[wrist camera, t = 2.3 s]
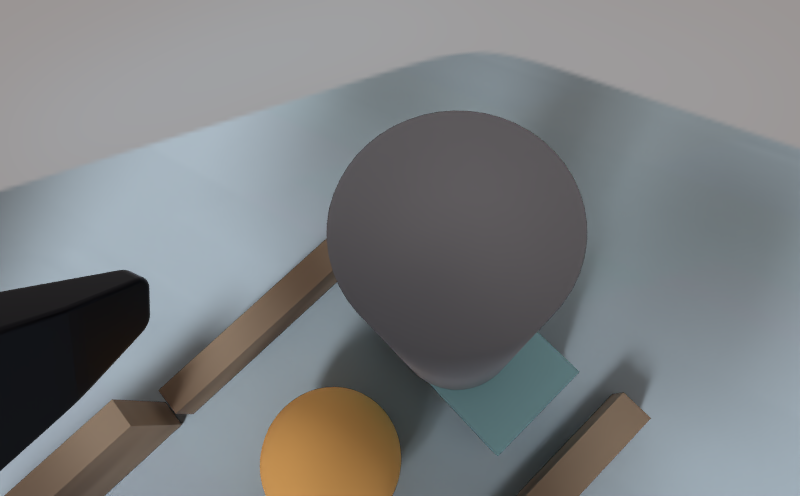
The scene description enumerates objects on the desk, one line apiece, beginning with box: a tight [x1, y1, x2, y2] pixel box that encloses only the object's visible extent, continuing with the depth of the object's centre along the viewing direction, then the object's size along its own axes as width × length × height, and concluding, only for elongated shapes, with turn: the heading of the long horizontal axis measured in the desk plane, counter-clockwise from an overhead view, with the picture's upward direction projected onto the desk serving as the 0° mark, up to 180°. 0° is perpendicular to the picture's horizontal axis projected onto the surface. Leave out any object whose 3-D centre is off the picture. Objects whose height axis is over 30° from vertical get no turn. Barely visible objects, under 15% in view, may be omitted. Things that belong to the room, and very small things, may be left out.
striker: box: [327, 111, 587, 456], centre depth 12 cm, size 3×6×12 cm, turn 43°
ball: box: [260, 387, 401, 496], centre depth 16 cm, size 4×4×4 cm
